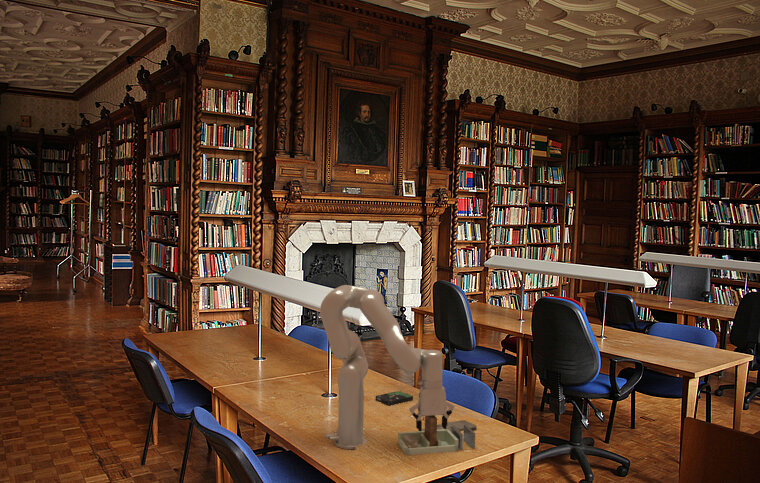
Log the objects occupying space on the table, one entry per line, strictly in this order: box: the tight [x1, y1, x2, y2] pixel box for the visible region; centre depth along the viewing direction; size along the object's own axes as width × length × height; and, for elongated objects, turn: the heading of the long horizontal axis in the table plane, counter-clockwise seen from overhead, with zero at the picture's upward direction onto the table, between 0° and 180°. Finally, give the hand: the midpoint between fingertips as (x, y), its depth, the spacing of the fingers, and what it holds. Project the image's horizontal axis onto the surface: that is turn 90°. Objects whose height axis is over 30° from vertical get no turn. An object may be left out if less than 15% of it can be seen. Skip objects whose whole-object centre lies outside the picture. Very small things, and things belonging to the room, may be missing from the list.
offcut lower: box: [404, 440, 418, 448], centre depth 222 cm, size 3×7×2 cm, turn 14°
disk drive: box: [375, 390, 414, 407], centre depth 282 cm, size 10×3×15 cm
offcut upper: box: [404, 435, 418, 446], centre depth 222 cm, size 3×6×2 cm, turn 19°
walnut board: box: [424, 415, 438, 447], centre depth 224 cm, size 2×7×12 cm, turn 14°
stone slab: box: [422, 419, 477, 432], centre depth 242 cm, size 10×3×30 cm
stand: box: [451, 425, 476, 451], centre depth 227 cm, size 6×9×7 cm, turn 14°
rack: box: [397, 429, 459, 456], centre depth 224 cm, size 20×11×5 cm, turn 104°
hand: (431, 428), depth 224 cm, fingers open, 9 cm apart
